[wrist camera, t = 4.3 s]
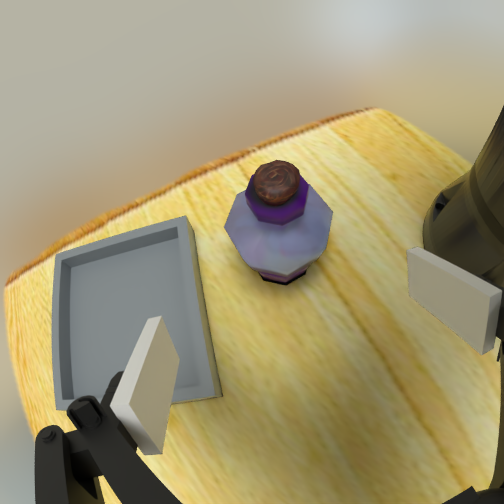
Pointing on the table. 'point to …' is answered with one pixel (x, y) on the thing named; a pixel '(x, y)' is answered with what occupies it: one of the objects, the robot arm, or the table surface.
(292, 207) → the potion bottle
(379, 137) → the table surface
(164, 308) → the tray
